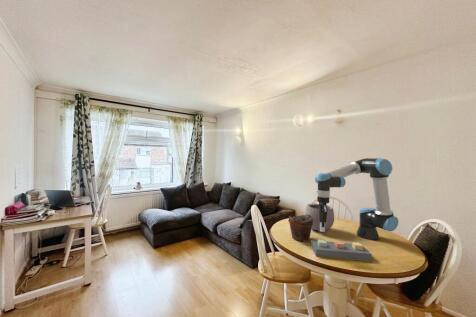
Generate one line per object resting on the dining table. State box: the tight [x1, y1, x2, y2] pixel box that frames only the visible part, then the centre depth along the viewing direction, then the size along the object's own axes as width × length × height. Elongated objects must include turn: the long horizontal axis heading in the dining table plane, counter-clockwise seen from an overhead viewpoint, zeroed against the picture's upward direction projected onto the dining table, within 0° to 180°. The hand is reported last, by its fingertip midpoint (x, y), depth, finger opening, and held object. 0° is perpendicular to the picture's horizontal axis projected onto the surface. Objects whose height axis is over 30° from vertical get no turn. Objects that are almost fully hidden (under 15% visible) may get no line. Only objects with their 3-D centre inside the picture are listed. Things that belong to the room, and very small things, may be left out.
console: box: [310, 240, 373, 262], centre depth 134 cm, size 33×14×4 cm, turn 82°
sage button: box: [317, 239, 328, 247], centre depth 136 cm, size 5×5×4 cm
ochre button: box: [351, 241, 364, 250], centre depth 133 cm, size 5×5×4 cm
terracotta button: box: [333, 240, 345, 249], centre depth 134 cm, size 5×5×4 cm
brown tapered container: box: [287, 214, 313, 242], centre depth 158 cm, size 18×20×18 cm
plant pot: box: [304, 202, 335, 232], centre depth 178 cm, size 24×24×30 cm
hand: (322, 231), depth 136 cm, fingers closed
